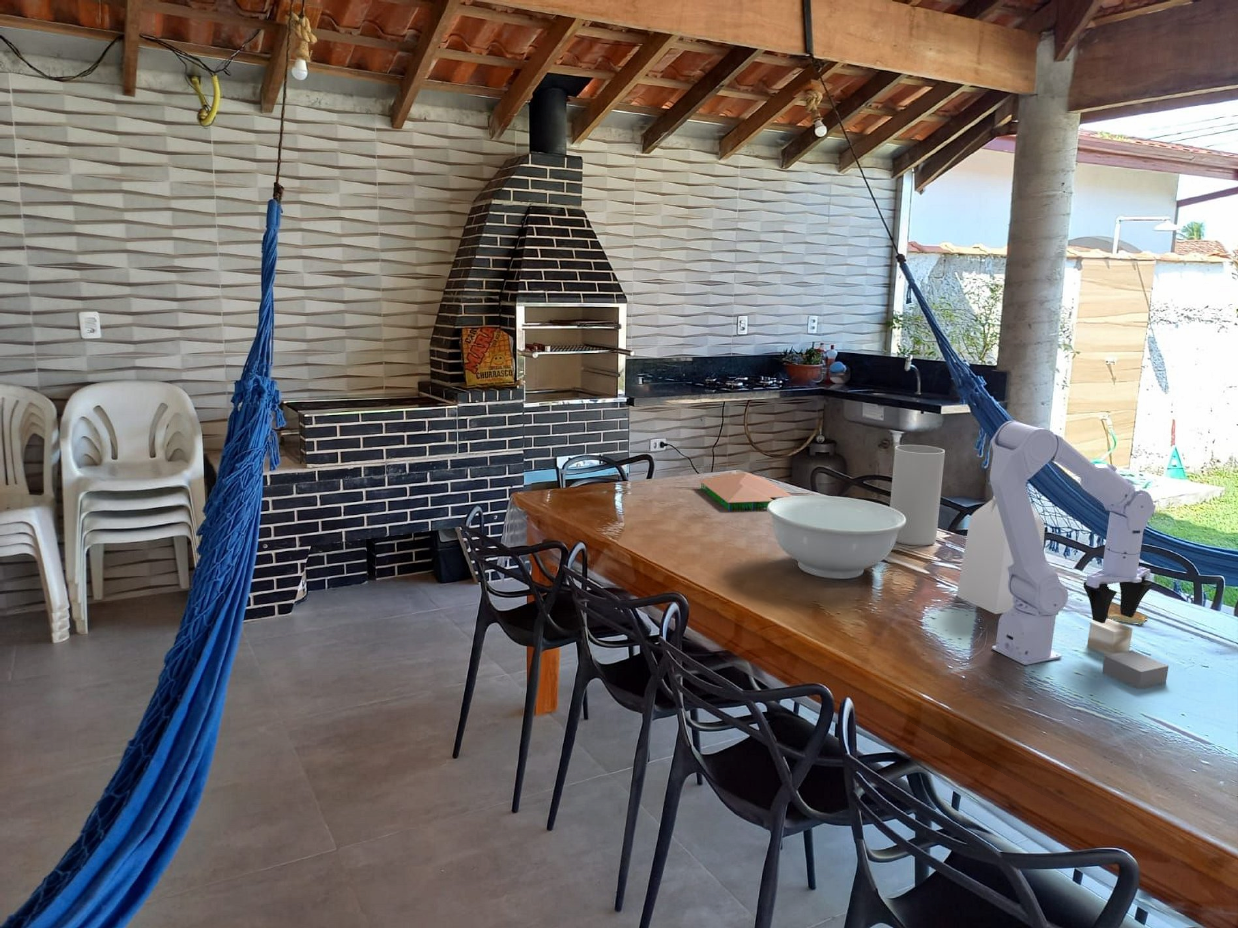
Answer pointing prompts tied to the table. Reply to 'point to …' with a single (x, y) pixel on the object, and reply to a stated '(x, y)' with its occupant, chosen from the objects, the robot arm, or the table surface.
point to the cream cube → (1109, 637)
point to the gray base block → (1135, 669)
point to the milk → (988, 560)
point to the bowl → (835, 533)
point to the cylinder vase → (917, 492)
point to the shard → (1116, 615)
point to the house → (742, 489)
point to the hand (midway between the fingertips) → (1112, 618)
